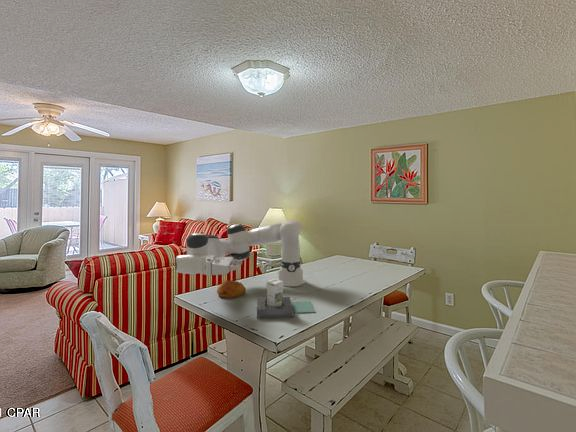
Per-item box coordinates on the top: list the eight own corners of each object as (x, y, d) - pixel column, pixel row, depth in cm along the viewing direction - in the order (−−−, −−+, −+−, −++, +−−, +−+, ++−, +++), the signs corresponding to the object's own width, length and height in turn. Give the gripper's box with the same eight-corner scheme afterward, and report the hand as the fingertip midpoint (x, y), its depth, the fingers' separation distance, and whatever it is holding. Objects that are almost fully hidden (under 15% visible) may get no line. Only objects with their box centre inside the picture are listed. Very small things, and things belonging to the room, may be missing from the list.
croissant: (225, 292, 176) (223, 278, 176) (249, 291, 172) (247, 277, 172) (211, 300, 163) (209, 285, 163) (237, 299, 158) (235, 284, 158)
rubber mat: (290, 302, 155) (290, 301, 155) (310, 302, 156) (310, 301, 156) (293, 313, 141) (293, 312, 141) (315, 312, 142) (315, 311, 142)
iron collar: (257, 305, 151) (257, 297, 151) (289, 304, 152) (289, 296, 152) (256, 318, 135) (256, 309, 135) (292, 317, 136) (293, 308, 136)
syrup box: (273, 308, 148) (273, 278, 147) (282, 311, 144) (283, 280, 143) (265, 311, 143) (265, 281, 142) (274, 314, 140) (275, 283, 138)
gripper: (214, 266, 151) (242, 266, 152) (206, 277, 131) (238, 277, 132) (215, 253, 151) (243, 254, 151) (206, 262, 130) (239, 263, 131)
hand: (241, 265), depth 141 cm, fingers open, 8 cm apart
